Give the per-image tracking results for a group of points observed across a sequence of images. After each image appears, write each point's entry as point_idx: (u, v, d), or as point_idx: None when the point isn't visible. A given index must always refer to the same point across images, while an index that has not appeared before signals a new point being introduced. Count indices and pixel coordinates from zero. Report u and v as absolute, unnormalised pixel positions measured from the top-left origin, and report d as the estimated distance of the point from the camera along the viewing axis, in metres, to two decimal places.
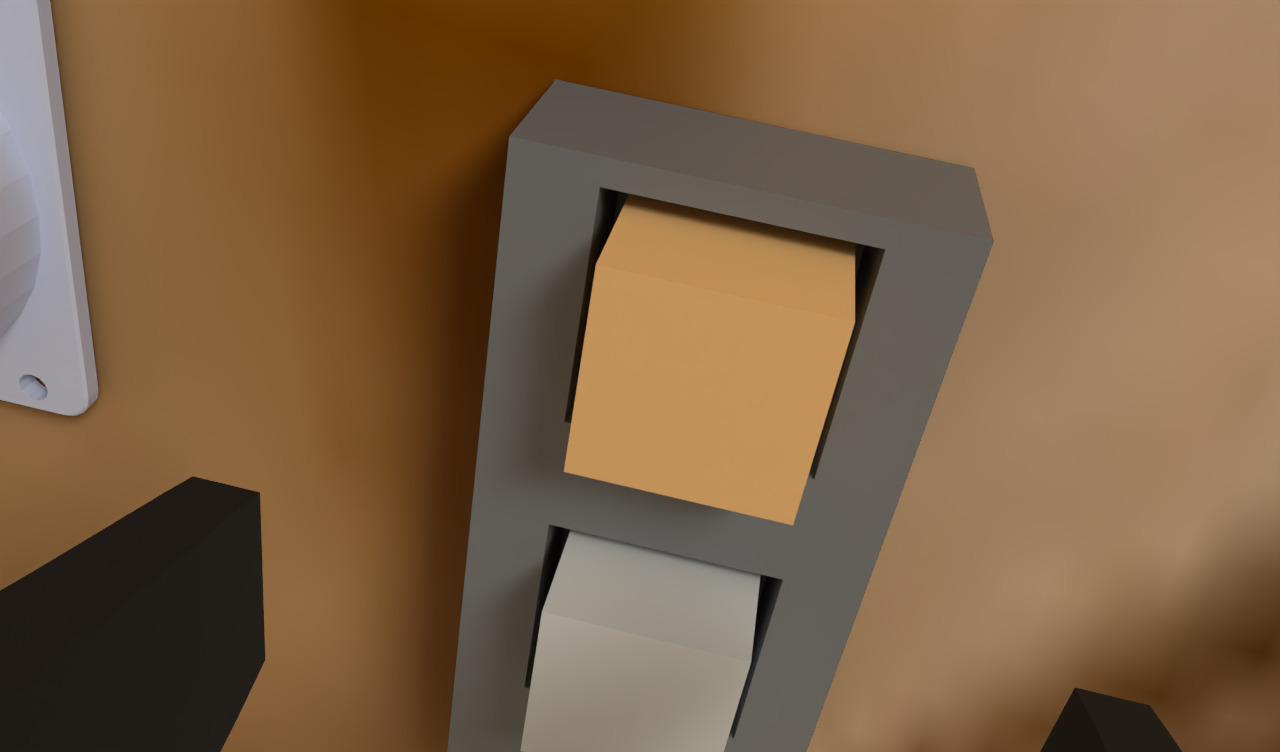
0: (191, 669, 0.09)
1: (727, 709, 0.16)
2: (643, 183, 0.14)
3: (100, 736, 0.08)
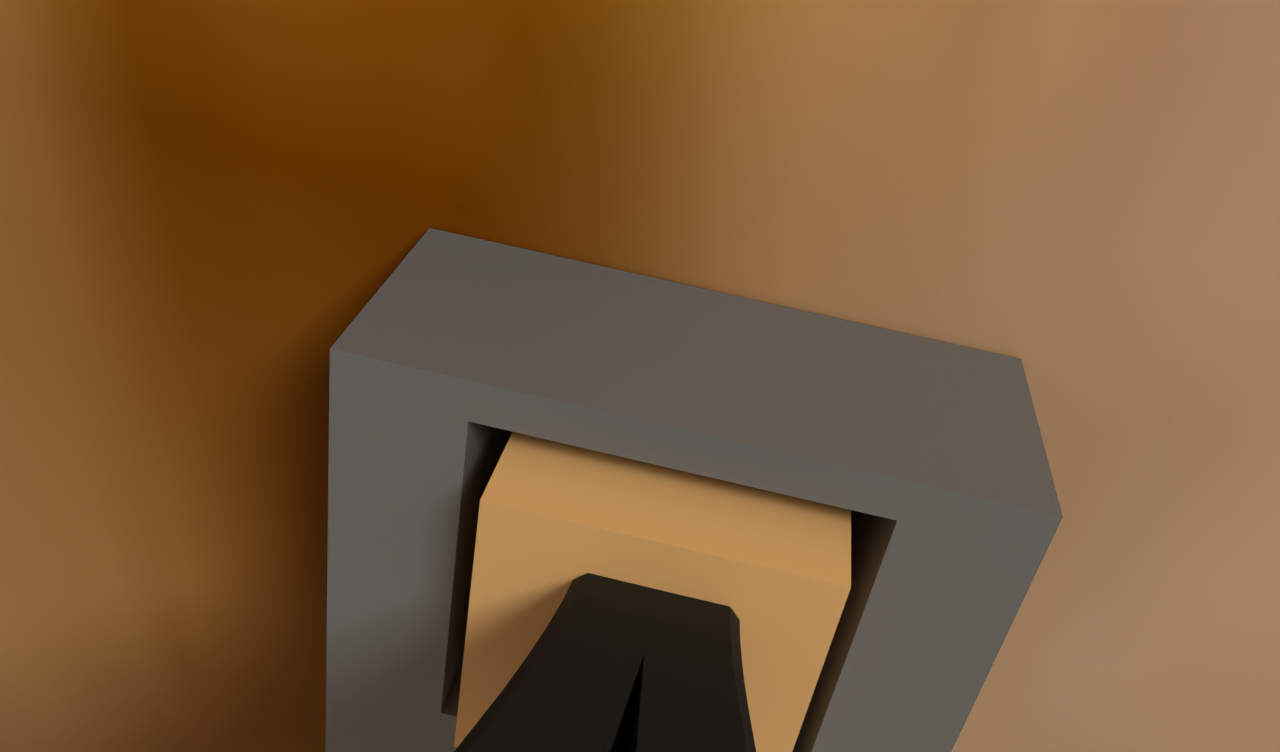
0: None
1: None
2: (532, 418, 0.09)
3: None
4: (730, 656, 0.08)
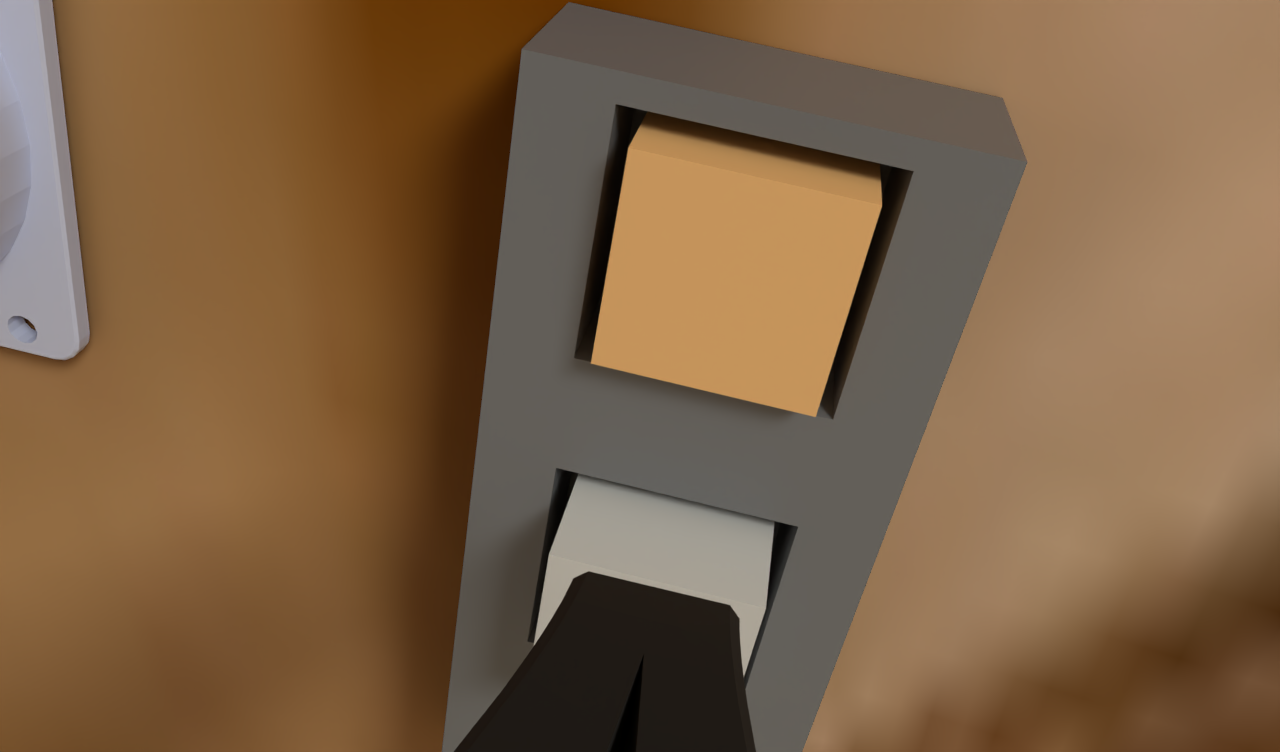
0: None
1: None
2: (661, 100, 0.13)
3: None
4: (729, 656, 0.08)
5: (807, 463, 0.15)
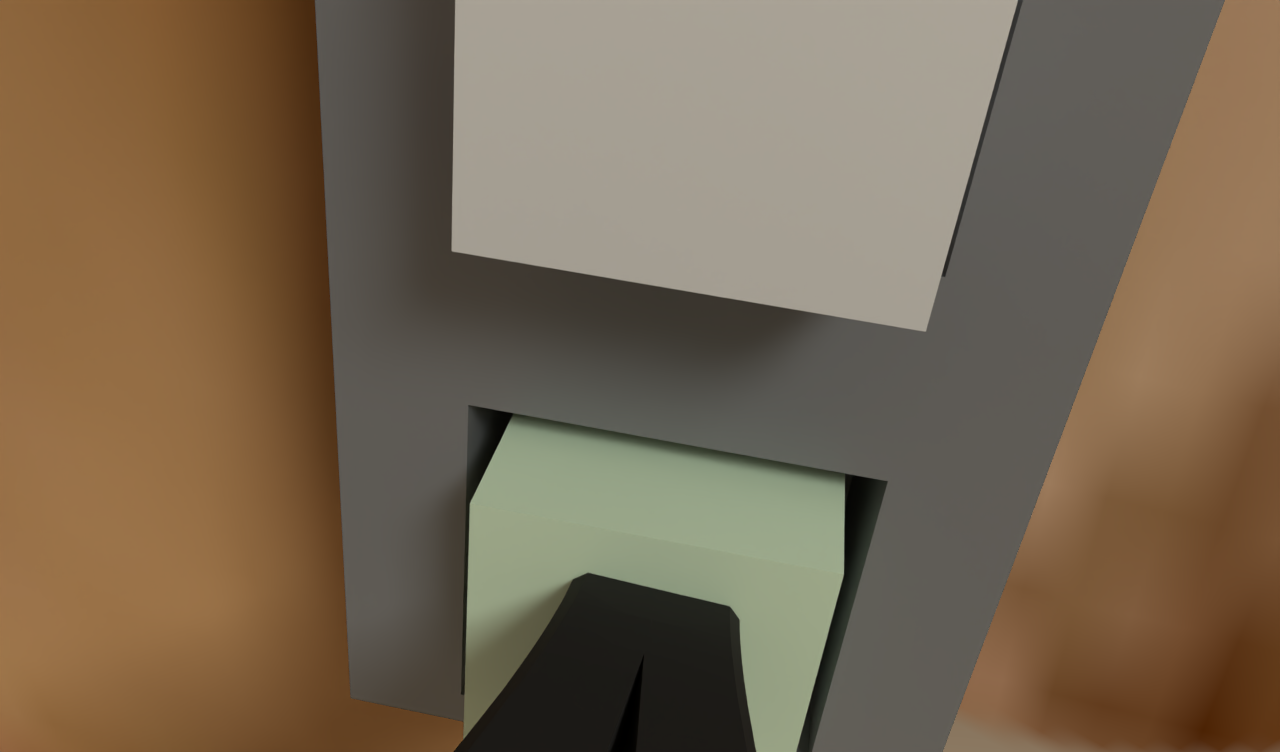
0: None
1: None
2: None
3: None
4: (730, 656, 0.08)
5: None
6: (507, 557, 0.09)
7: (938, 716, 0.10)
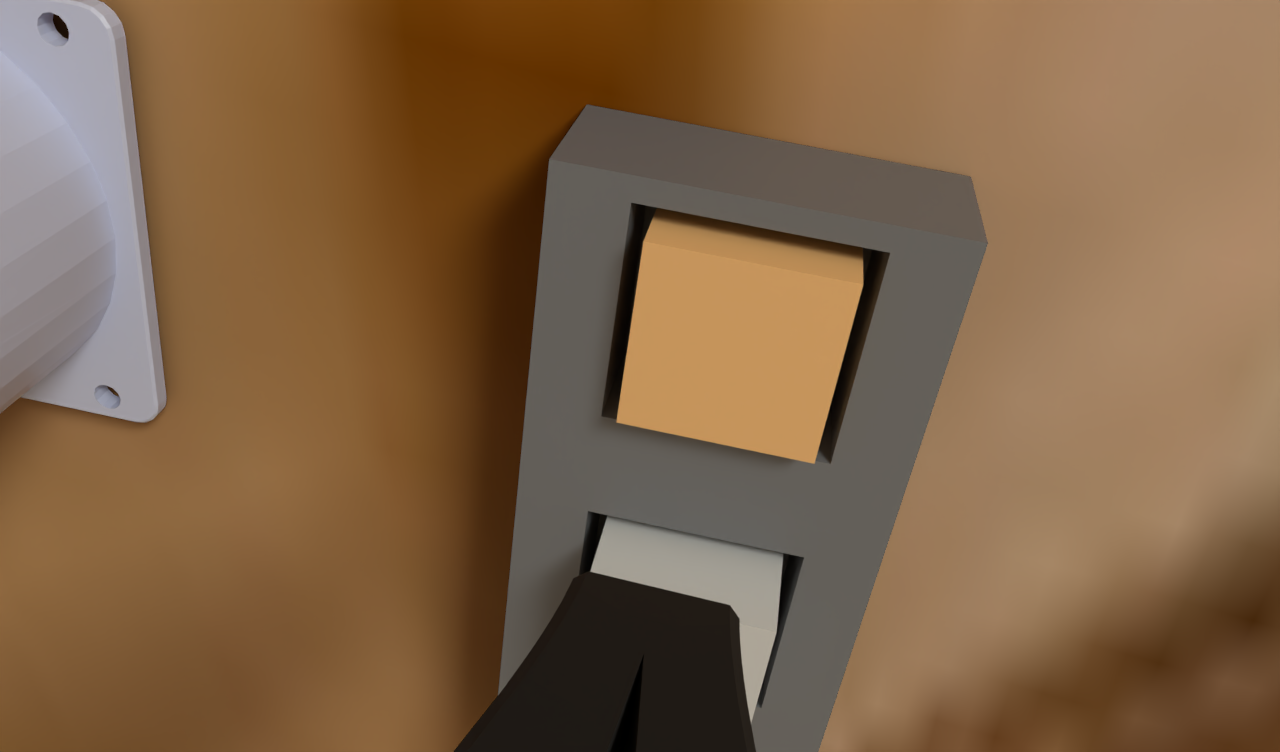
0: None
1: (755, 676, 0.17)
2: (670, 198, 0.15)
3: None
4: (729, 656, 0.08)
5: (809, 502, 0.17)
6: None
7: None
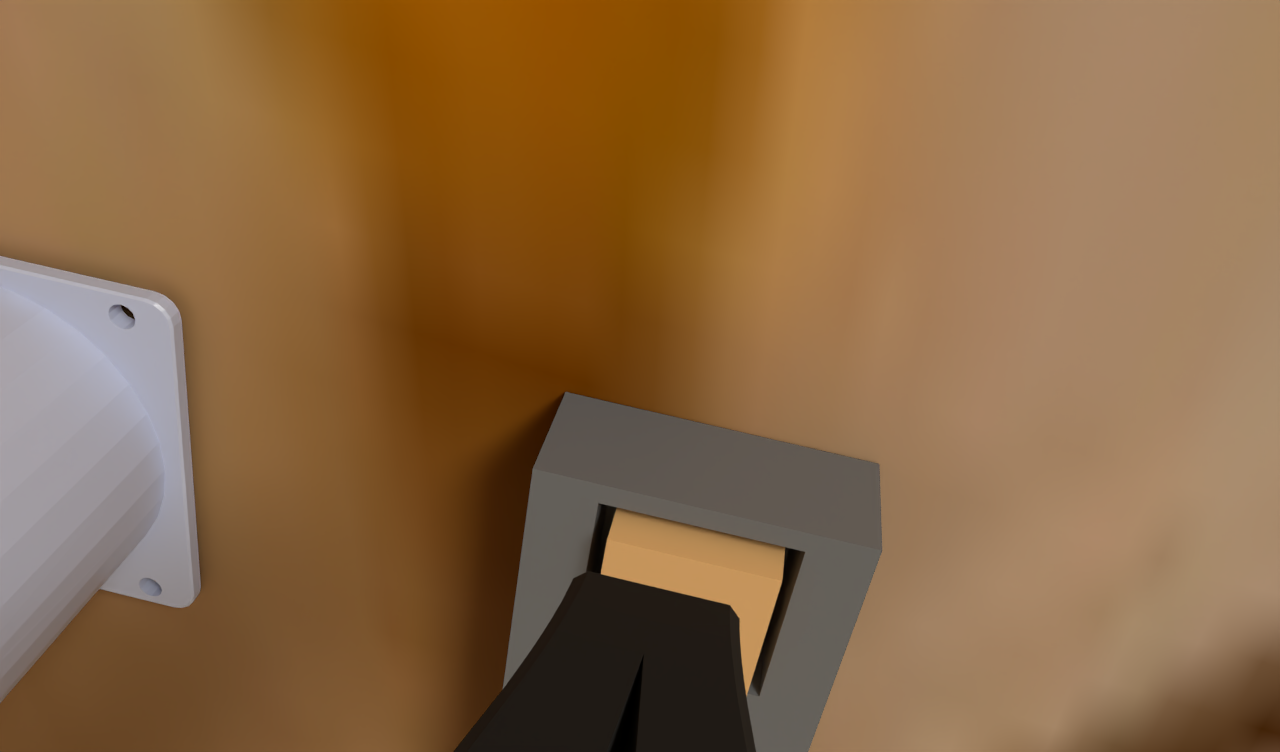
0: None
1: None
2: (630, 502, 0.19)
3: None
4: (730, 656, 0.08)
5: None
6: None
7: None
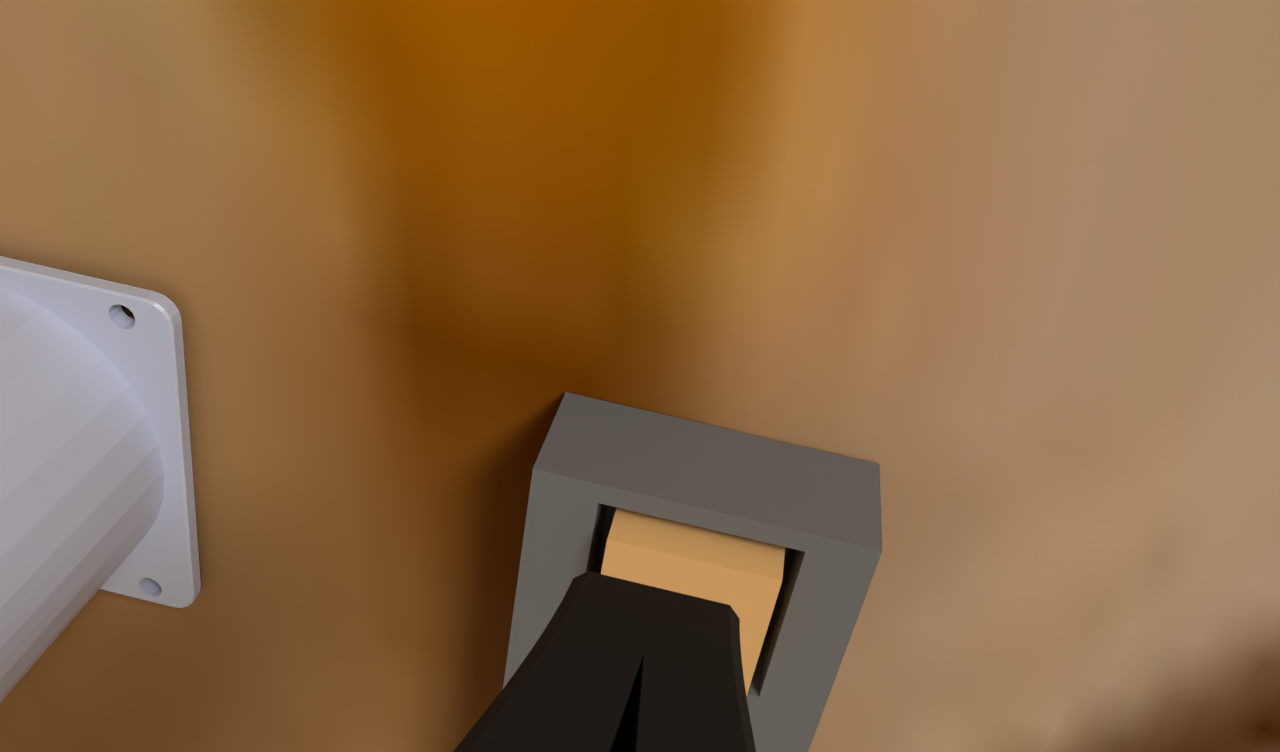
0: None
1: None
2: (630, 502, 0.19)
3: None
4: (730, 656, 0.08)
5: None
6: None
7: None
